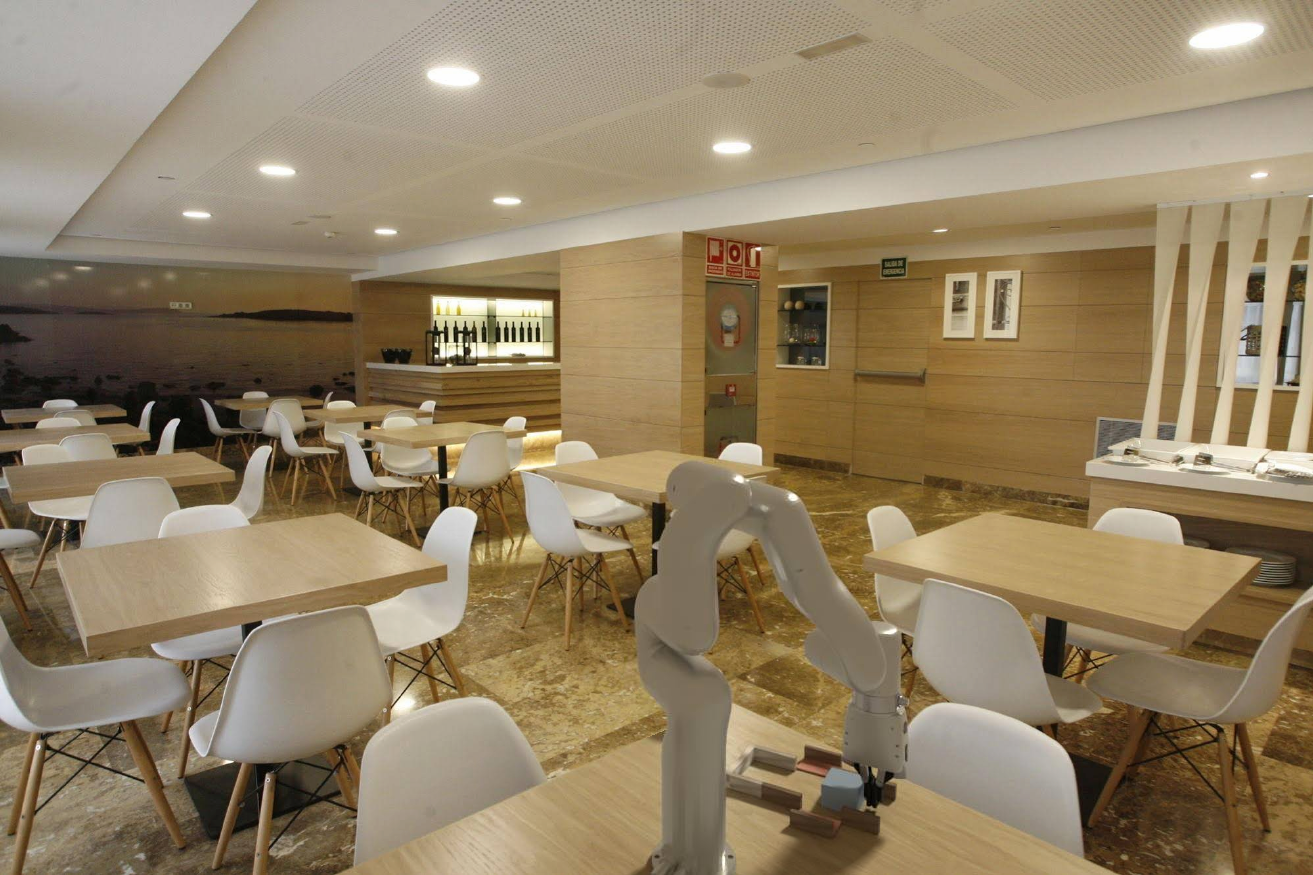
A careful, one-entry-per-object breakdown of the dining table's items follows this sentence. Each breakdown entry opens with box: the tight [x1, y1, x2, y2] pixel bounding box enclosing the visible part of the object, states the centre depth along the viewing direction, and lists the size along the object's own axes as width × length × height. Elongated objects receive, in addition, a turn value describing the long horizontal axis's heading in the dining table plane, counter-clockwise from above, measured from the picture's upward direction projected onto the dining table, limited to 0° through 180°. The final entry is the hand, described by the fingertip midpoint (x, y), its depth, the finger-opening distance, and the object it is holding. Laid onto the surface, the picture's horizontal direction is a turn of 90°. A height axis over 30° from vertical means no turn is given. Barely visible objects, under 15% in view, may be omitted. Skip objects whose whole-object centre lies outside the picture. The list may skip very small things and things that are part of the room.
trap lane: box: [726, 743, 898, 840], centre depth 132 cm, size 22×27×2 cm
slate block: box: [820, 768, 866, 813], centre depth 129 cm, size 6×6×4 cm
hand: (873, 803), depth 127 cm, fingers closed
